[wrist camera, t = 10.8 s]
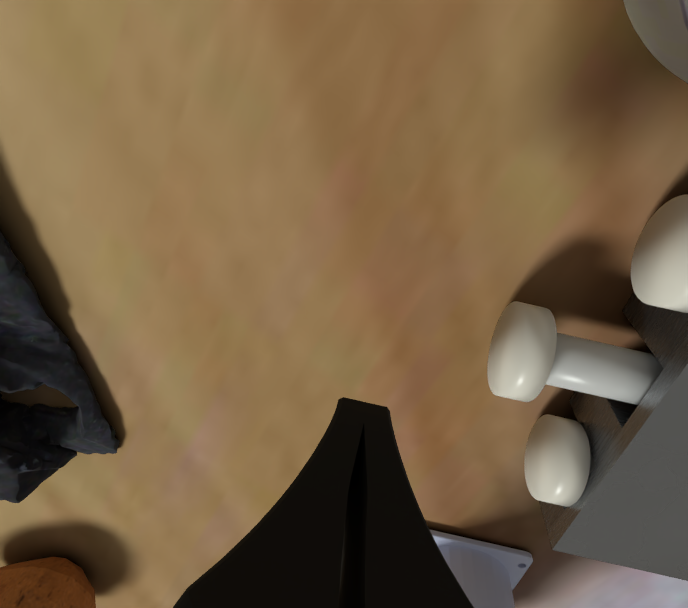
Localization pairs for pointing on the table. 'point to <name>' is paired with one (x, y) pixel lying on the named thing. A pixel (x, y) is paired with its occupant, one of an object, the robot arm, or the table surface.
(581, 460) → the knob
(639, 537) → the rack
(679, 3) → the teacup
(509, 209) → the table surface
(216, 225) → the table surface
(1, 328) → the black cloth
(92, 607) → the potato
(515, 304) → the knob middle
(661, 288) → the knob
